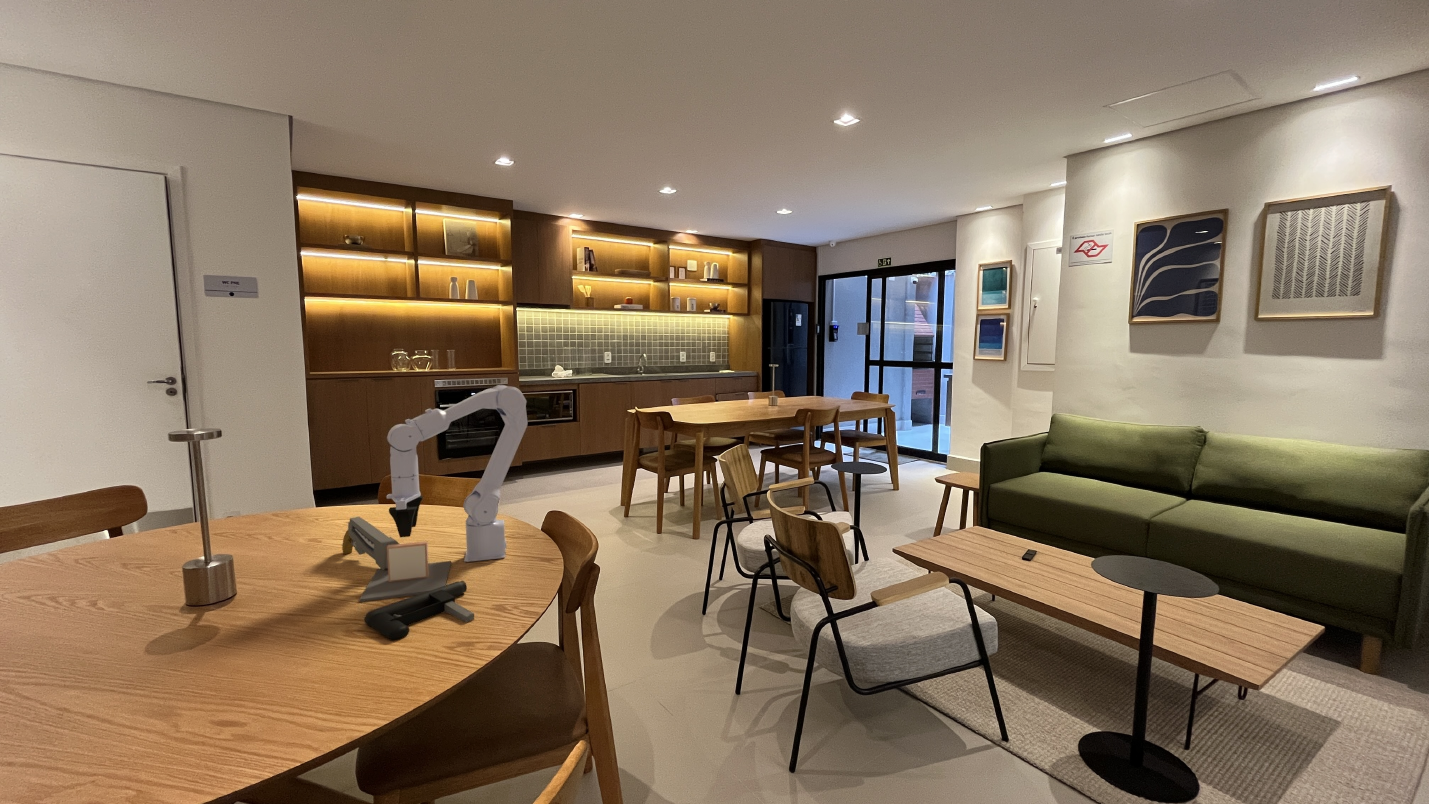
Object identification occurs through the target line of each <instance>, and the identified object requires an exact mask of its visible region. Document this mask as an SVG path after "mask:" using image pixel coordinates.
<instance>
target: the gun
mask: <svg viewBox="0 0 1429 804" xmlns="http://www.w3.org/2000/svg"><path fill="white" fill-rule="evenodd" d="M347 524H348V525H347V527H348V528H347V530H346V531H345V534H344V535H343V537H342V539H343V540H342V545H341V546H342V547H341V550H342V555H347V554H351V553H352V552H353V548H354V550H355V551H356V553H357V554H358V555H360V556H361V555H365V554H367V555H368V556H369V557H370V558H372V559H373V560H374V561H375V564H376V565H377V566H378V567H379V569H381V570H386V569H388V559H387V546H388V545H395V544H401V543H399V542H398V541H397V540H396V539H395V538H393V537H392V536H388V535H387V534H385V533H383V531H381V530H379V529H378V528H377V527H376V526H374V525H372V524H371V523H370V522H369V521H367V520H365V519H364V518H362V517H360V516H355V517H350V518H349V521H348V523H347Z"/></svg>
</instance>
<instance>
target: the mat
mask: <svg viewBox="0 0 1429 804" xmlns="http://www.w3.org/2000/svg"><path fill="white" fill-rule="evenodd" d="M428 564H429V576H428V578H419V579H411V580H402V581H393V582H389V579H388V569H386V570H381V568H377V569H376V571H375V573H374V574H373V576H372V578H371V579H370V581H369V582H368V585H367V586H366V587H365V589H364V591H363V592H362V594H361V596H360V597H359V600H358V601H359V603H365V602H373V601H380V600H387V599H388V600H389V599H395V598H404V597H413V596H416V595H419V594H421V593H424V592H427V591H430V590H433V589H436V588H439V587H442V586H445V585H447V580H448V576H449V574H450V570H451V566H452V560H447V561H445V560H444V561H437V562H428Z"/></svg>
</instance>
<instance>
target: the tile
mask: <svg viewBox="0 0 1429 804" xmlns="http://www.w3.org/2000/svg"><path fill="white" fill-rule="evenodd" d="M428 545H429V544H428V541H426V540H425V541H416V542H409V543H408V542H407V543H400V544H395V545H388V546H387V559H388V579H389V582H393V581H402V580H411V579H419V578H428V576H429V564H428V563H429V550H428V549H429V547H428Z"/></svg>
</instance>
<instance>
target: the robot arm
mask: <svg viewBox="0 0 1429 804" xmlns="http://www.w3.org/2000/svg"><path fill="white" fill-rule="evenodd" d="M526 406H527V399H526V397H525V396H524V393H522V391H521V390H520V389H519V388H517V387H515V386H508V385H504V384H498V385H496V386H493V387H491V388H487V389H484V390H483V391H479V392H477V393H476V394H473V395H472V396H469V397H468V398H466V399H463V400H462V401H460V402H458V403H456V404H454V405H451V406H450V407H448V408H446V409H439V408H434V409H432V408H428V409H425V411H424V413H422V414H420V415H418V416H416V417H413V418H412V419H410V418H408V419H405V420H404V422H405V423H399V424H395V425H394V426H393V427H391V428H390V430H389V431H388V434H387V436H386V441H387V442H388V443H389V445H390V450H389V454H390V457H389V459H390V460H389V464H390V477H391V478H390V479H391V493H389V494H387V495H386V499H387V500H390V499H391V500H392V501H393V502H394V503H395V506H394V507H393V506H392V507H389V509H388V513H389V514H390V516H391V517H392V519H393V521H394V523H395V526H396V529H397V532H398V535H399V538H409V537H411V535H412V531H413V530H412V529H413V528H416V527H417V524H418V523H417V522H418V515H419V509H420V506H421V502H422V500H423V499H424V495H422V494H421V491H420V477H419V476H420V475H419V474H420V473H419V459H418V457H419V456H418V454H417V453H418V452H417V446H418V444H419V442H424V441H426V440H428V439H430V438H432V437H435V436H436V435H438V434H440V433H443V432H445V431H446V430H449V427H450V424H451V422H454V421H456V420H458V419H461V418H463V417H465V416H468V415H470V414H472V413H474V412H476V411H477V412H478V411H479V410H481V409H489V410H496V411H497V412H498V413H499V415H500V417H501V418H502V421H503V422H504V427H503V429H502V431H501V433H500V435H499V438H498V440H497V442H496V445H495V447H494V449H493V452H492V454H491V457H490V458H489V461H488V463H487V466H486V468H485V469H484V473H483V475H482V477H481V479H480V481H478V483H477V484H476V485H475V486H474V487H473V489H472V491H471V493H470V494H469V495H467V496H466V498H465V499H464V502H463V510H464V512H465V513H466V514H467V515H468V516H467V518H466V520H465V536H466V539H465V540H466V550H465V551H466V552H465V555H464V563H469V562H478V561H487V560H498V559H504V558H506V549H507V547H508V546H507V540H506V533H505V532H506V530H505V529H506V528H505V520H504V519H497V516H498V512H499V502H500V499H501V487H502V485H503V482H504V481H505V479H506V476H507V473H508V471H509V469H510V466H511V464H512V462H513V460H514V458H515V455H516V453H517V450H518V448H519V445H520V443H521V441H522V438H523V436H524V434H525V432H526V429H527V428H528V422H529V421H528V417H527V416H528V415H527V407H526Z"/></svg>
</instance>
